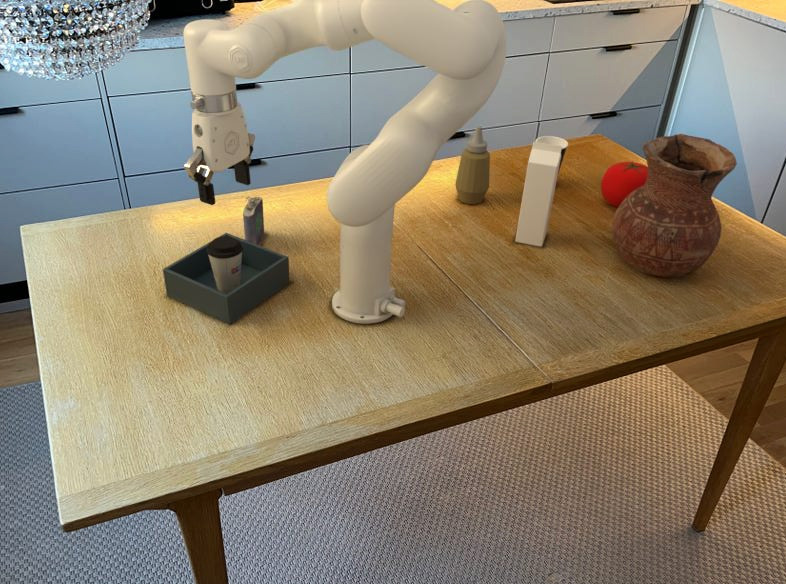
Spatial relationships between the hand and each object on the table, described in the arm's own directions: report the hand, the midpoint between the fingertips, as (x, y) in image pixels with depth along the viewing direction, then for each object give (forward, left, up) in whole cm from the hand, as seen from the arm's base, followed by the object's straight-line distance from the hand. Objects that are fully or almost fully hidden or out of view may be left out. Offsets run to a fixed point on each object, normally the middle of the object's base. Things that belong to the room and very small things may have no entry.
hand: (225, 192), depth 139 cm
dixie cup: (-31, -81, -20) cm, 89 cm away
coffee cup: (0, +2, -20) cm, 20 cm away
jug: (-66, -60, -20) cm, 92 cm away
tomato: (-51, -82, -20) cm, 99 cm away
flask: (+8, -15, -20) cm, 27 cm away
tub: (0, +2, -20) cm, 20 cm away
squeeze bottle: (-20, -62, -20) cm, 68 cm away
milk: (-40, -53, -20) cm, 70 cm away
